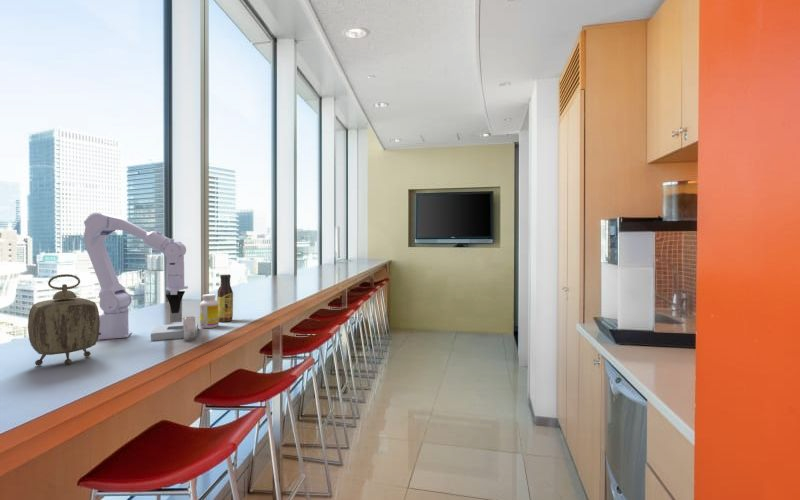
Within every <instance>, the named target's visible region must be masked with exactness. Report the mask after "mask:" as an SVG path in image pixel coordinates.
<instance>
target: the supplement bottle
mask: <svg viewBox="0 0 800 500" xmlns="http://www.w3.org/2000/svg"><path fill="white" fill-rule="evenodd" d="M201 298H202V301H200V303H199V327H200V328H201V329H211V328H212V329H213V328H217V327H218V326H219V319H218V302H217V299H216V298H217V297H216V294H215V293H208V294H207V293H206V294H202V297H201Z"/></svg>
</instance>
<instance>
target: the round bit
mask: <svg viewBox="0 0 800 500" xmlns="http://www.w3.org/2000/svg"><path fill="white" fill-rule="evenodd" d="M182 322H183V329H184V338H183V342H184V343H190V342H194V341H196V337H195V323H196V316H184V317H182Z"/></svg>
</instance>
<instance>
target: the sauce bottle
mask: <svg viewBox="0 0 800 500" xmlns="http://www.w3.org/2000/svg"><path fill="white" fill-rule="evenodd" d="M219 277H220V286H219V288H218V289H217V297H216V298H217V299H216V301H217V302H218V319H219V322H220V323H221V322H222V323H225V322H231V321H232V320H233V317H234V291H233V289H232V287H231V274H230V273H229V274H227V273H226V274H225V273H223V274H220V276H219Z"/></svg>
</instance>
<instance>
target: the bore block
mask: <svg viewBox="0 0 800 500" xmlns="http://www.w3.org/2000/svg"><path fill="white" fill-rule="evenodd" d="M198 331H199V322H198V321H197V322H196V321H195V338H196V337H197V336H198ZM173 339H184V329H183V323H182V322H181V323H172V324H159V325H158V324H157V325H155V327H154V328H153V330H152V331H151V333H150V341H151V342H153V340H154V341H163V340H164V341H165V340H173Z"/></svg>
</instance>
